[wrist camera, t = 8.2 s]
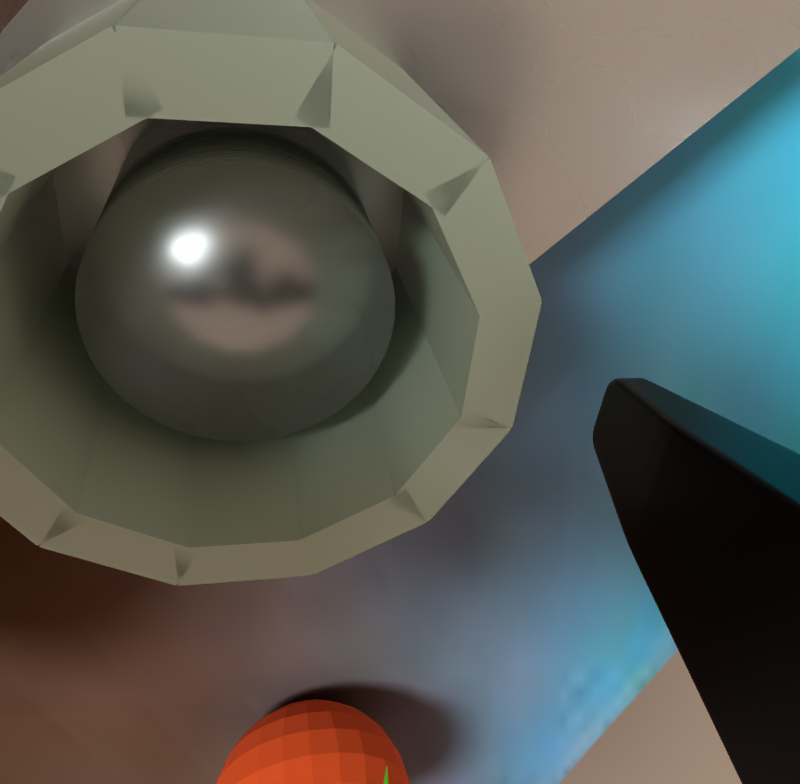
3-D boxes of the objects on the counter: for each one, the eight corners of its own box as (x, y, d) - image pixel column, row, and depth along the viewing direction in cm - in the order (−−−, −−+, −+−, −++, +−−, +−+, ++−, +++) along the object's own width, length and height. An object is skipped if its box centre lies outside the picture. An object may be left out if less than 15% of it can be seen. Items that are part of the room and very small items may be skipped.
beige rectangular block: (-104, 179, 14) (-308, 346, 9) (548, -573, 10) (883, -1086, 5) (234, 424, 19) (233, 625, 14) (762, -19, 15) (1045, 24, 10)
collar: (48, 400, 14) (-27, 601, 10) (-47, -44, 10) (-245, -4, 6) (417, 392, 16) (480, 562, 12) (471, 7, 11) (598, 65, 7)
